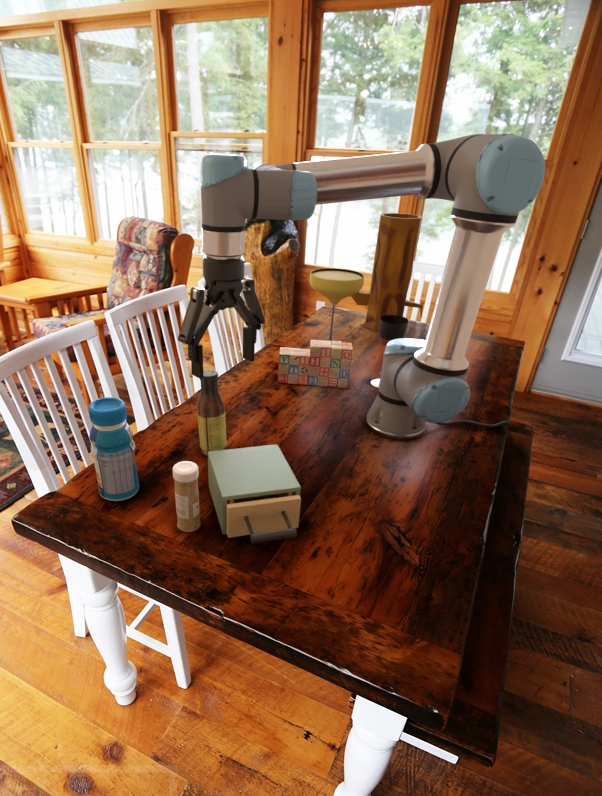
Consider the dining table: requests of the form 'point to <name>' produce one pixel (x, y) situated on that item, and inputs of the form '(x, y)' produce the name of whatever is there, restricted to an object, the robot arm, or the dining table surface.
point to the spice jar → (187, 495)
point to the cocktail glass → (336, 285)
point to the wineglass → (390, 332)
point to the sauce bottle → (211, 414)
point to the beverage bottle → (113, 449)
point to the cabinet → (248, 476)
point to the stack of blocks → (316, 364)
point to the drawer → (264, 517)
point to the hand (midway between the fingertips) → (223, 367)
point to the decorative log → (391, 268)
